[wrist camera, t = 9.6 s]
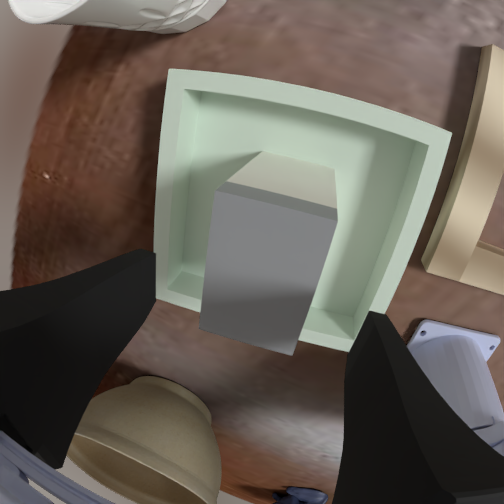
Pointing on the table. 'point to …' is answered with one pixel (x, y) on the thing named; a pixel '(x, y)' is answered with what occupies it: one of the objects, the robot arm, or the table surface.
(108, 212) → the table surface
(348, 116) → the tray
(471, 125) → the frame
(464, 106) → the table surface
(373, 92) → the table surface
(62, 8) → the white cup
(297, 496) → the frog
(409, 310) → the table surface
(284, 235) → the block
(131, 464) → the planter bowl
